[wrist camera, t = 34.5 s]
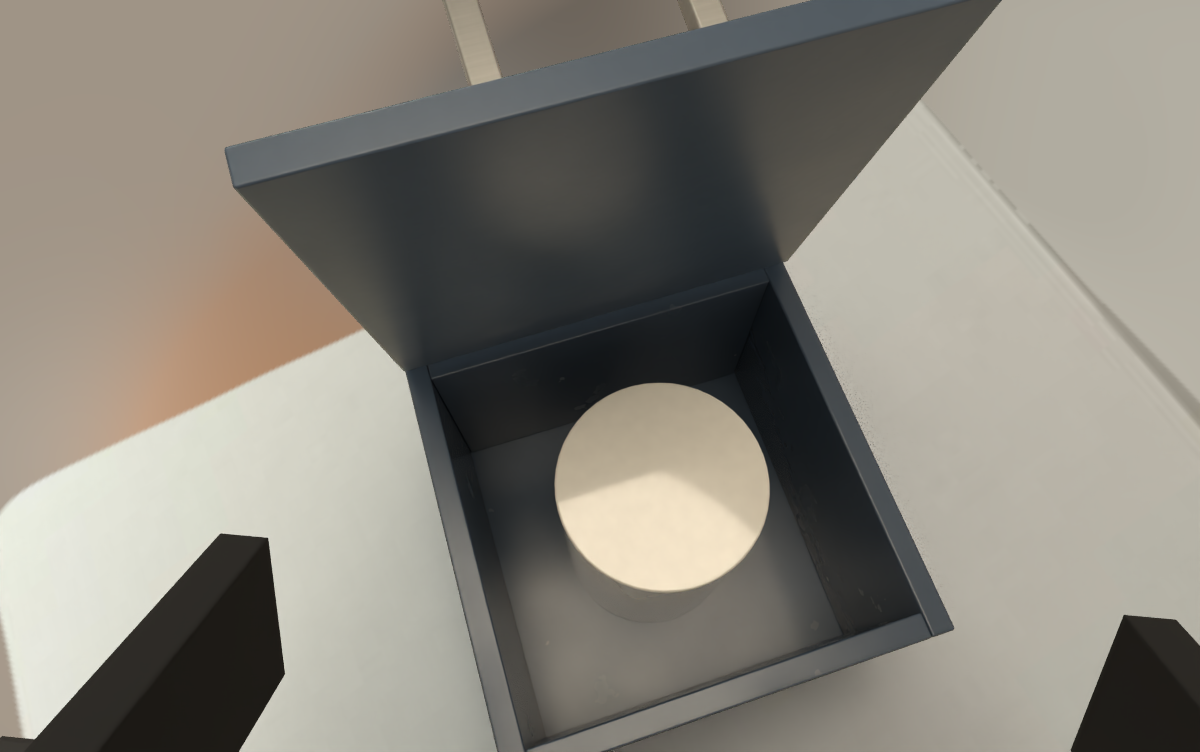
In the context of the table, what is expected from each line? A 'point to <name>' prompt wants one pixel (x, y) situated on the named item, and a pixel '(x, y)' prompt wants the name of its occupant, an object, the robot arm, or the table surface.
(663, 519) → the beige canister
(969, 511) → the table surface
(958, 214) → the table surface
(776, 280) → the grey box
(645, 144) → the box lid
